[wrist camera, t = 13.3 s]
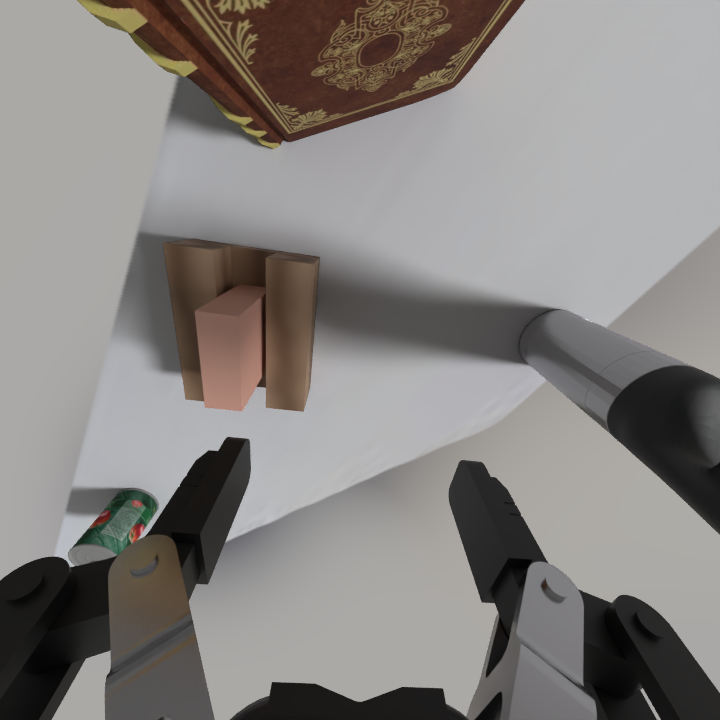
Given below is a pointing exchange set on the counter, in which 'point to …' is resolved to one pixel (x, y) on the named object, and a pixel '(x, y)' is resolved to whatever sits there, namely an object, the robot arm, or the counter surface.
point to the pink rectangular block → (232, 346)
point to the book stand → (283, 310)
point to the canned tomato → (115, 527)
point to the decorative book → (310, 54)
